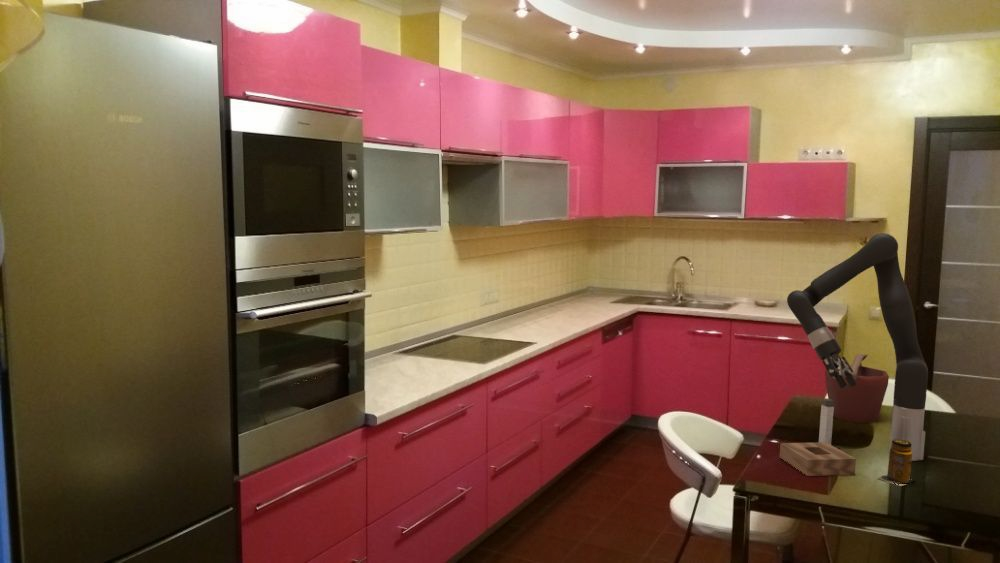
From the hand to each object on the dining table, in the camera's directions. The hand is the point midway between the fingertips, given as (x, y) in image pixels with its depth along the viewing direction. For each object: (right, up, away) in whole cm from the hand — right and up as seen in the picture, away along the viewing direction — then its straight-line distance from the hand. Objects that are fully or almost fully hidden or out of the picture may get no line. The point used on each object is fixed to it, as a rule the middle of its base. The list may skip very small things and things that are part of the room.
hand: (849, 386), depth 245 cm
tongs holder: (-15, -24, -10) cm, 30 cm away
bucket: (+26, -19, +50) cm, 59 cm away
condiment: (+5, -26, -20) cm, 33 cm away
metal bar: (-7, -23, +4) cm, 24 cm away
